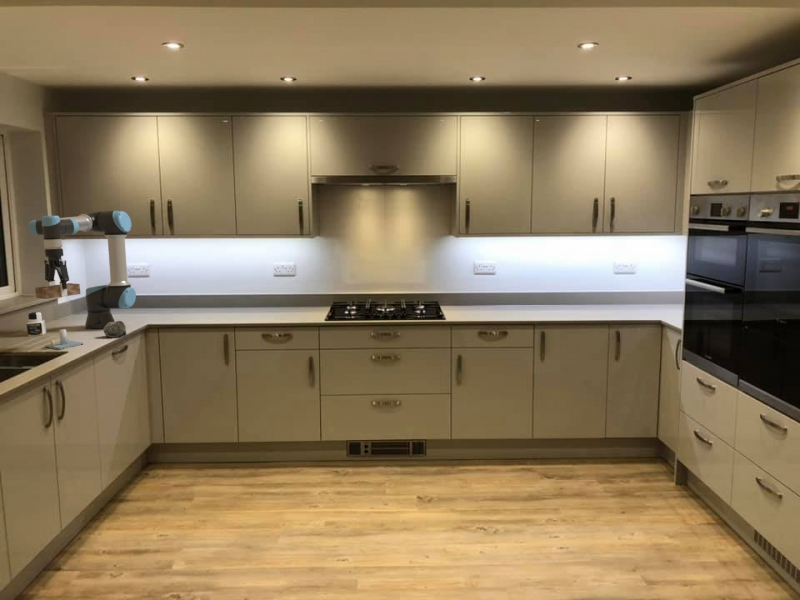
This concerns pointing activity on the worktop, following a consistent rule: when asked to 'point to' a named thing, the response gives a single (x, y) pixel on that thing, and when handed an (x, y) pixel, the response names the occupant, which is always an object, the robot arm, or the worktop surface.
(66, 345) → the post block
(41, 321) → the medicine bottle
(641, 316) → the worktop surface
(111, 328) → the fossil
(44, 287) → the brown textured block
